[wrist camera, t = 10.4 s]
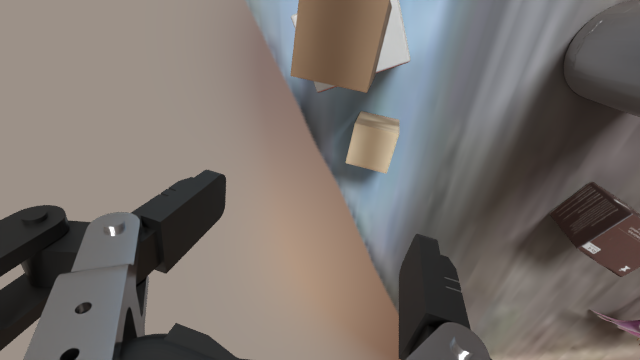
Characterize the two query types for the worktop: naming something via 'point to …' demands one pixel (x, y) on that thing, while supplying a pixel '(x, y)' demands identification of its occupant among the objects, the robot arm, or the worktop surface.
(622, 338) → the worktop surface
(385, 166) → the maple block
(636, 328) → the lily
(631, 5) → the robot arm
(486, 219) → the worktop surface
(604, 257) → the box
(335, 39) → the walnut block
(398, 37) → the small box
